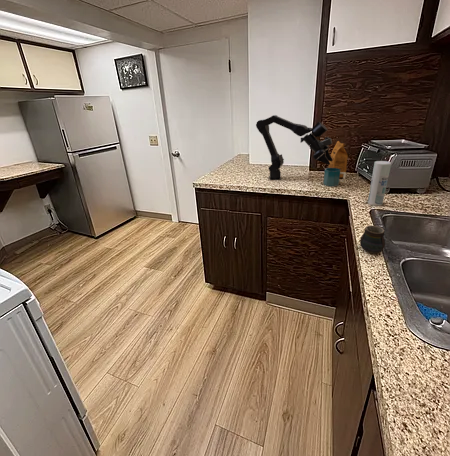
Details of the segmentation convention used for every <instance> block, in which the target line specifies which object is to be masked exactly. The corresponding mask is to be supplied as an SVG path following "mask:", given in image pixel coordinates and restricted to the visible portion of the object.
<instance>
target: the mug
mask: <svg viewBox="0 0 450 456" xmlns="http://www.w3.org/2000/svg"><path fill="white" fill-rule="evenodd" d="M340 171H341V169H338V168H329V167H326V168H325V169H324V172H323V182H322V183H323V185H324V186H327V187H338V186H339V185H340V183H343V184H344V183H345V182H346V177H347V171H346V172H340ZM340 174H344V175H343V177H342V179H341V178H340Z"/></svg>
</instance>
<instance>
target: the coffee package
mask: <svg viewBox="0 0 450 456" xmlns="http://www.w3.org/2000/svg"><path fill="white" fill-rule="evenodd" d="M345 147H346V143H341V141H339V140H338V141H336V144H335V145H334V146H333V149H332V151H331V154H330V156H331V158H332V160H333V161H329V160H328V161H329V162H330V165H328V168H338V169H341V171H340V172H346V173H347V165H348V158H349V155H348V153H347V151H346V149H345ZM343 175H344V174H340V179H341V178H342V179H343Z"/></svg>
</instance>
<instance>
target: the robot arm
mask: <svg viewBox="0 0 450 456" xmlns="http://www.w3.org/2000/svg"><path fill="white" fill-rule="evenodd" d="M272 124H276V125H279V126H281V127H283V128H286V129H287V130H290V131H291V132H292V133H293V134H295V135H297V136H298V137H300V144H301V143H303V142H305V144H306V145H307V146H308V147H309V150H312V151H313V152H314V154H313V155H312V158H313V159H314V161H315V160H316V161H318V162H321V163H323V164H326V165H327V166H329V165H330V162H329V161H333V160H332V158H331V154H330V145H332V144H333V141H332V140H333V139H332V138H331V137H329V136H325V138H324V140H319V139H318V138H321V137H322V136H323V135H324V134H325V133H326V132H327V131H328V128H327V127H326V126H325V125H324V124H323V123H321V122H320V121H318V122H316V123H315V125H313V127H308V126H307V125H305V124H301V123H294V122H292V121H289V120H287V119H285V118H282V117H280V116H278V115H276V114H274V115H271V116H270V117H267V118H265V119H264V118H263V119H259V120H258V121H257V122H256V124H255V127H256V129H257V131H258V132H259V133H260V134H261V136H262V137H263V140H264V142H265V145H266V147H267V150H268V152H269V155H270V162H271V165H270V166H269V167H268V171H269V176H268V178H269V179H270V181H274V180H275V181H276V180H277V181H278V180H281V175H282V171H281V167H283V165H284V162H285V159H284V157H283V154H282V153H281V154H280V153H279V152H278V150H277V147H276V145H275V143H274V140H273V138H272V135H271V133H270V125H272Z"/></svg>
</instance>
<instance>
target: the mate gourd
mask: <svg viewBox="0 0 450 456" xmlns="http://www.w3.org/2000/svg"><path fill="white" fill-rule="evenodd" d="M384 236H385V229H384V228H382V227H381V226H378V225H371V224H370V225H367V226H365V227H364V231H363V234H362V235H361V236H360V238H359V244H360V247H361V248H362V250H364V251H365V252H367V253H369V254H379V253H381V252H383V250H384V249H385V247H386V240H385V237H384Z"/></svg>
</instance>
